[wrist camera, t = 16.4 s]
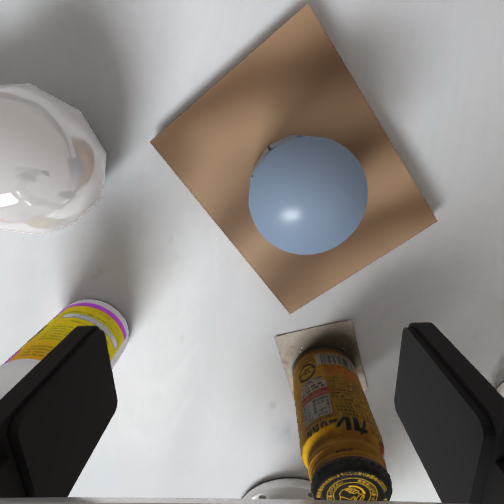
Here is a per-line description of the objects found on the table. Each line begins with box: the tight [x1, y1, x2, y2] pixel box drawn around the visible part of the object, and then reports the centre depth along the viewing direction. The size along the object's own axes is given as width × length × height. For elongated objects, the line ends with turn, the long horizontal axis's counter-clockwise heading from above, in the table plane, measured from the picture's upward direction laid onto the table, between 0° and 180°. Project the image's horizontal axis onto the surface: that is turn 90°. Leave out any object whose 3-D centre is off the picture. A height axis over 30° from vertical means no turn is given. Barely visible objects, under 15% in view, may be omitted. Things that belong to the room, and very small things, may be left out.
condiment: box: [275, 320, 392, 501], centre depth 27 cm, size 7×8×12 cm
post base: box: [150, 3, 437, 314], centre depth 24 cm, size 18×14×6 cm
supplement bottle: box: [0, 299, 129, 399], centre depth 26 cm, size 7×7×13 cm
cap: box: [248, 134, 368, 255], centre depth 22 cm, size 7×7×6 cm
